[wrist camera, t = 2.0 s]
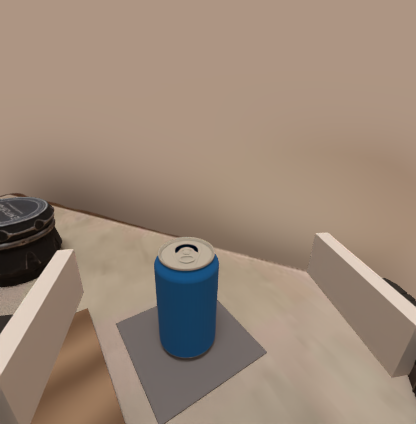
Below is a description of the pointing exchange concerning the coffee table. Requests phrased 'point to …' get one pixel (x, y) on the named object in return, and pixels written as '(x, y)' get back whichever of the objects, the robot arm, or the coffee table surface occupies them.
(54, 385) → the walnut board
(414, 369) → the hardcover book
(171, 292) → the beverage can
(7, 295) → the coffee table surface
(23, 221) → the container
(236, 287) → the coffee table surface
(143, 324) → the gray tile
